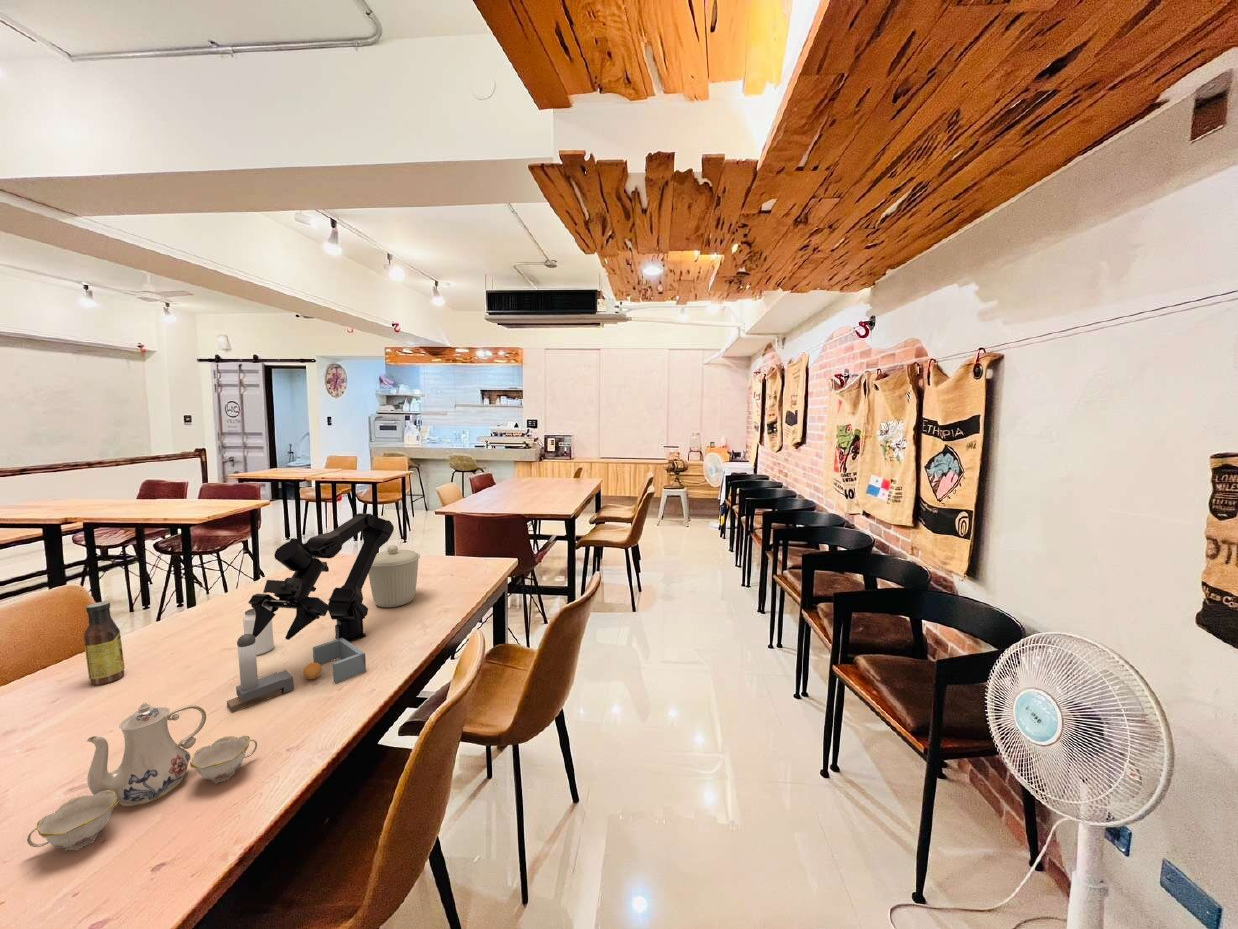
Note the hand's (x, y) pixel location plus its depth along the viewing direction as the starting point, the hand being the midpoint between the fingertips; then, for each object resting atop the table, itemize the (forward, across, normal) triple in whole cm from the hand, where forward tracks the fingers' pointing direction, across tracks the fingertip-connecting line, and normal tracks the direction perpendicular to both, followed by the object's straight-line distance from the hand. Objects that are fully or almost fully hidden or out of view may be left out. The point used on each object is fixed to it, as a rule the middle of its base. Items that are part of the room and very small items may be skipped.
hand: (270, 637), depth 117 cm
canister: (-30, -4, +48) cm, 57 cm away
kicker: (+11, +2, +6) cm, 13 cm away
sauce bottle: (+12, -45, +7) cm, 47 cm away
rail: (+13, 0, +5) cm, 14 cm away
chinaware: (+33, +9, -14) cm, 37 cm away
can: (-2, -20, +20) cm, 28 cm away
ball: (+4, +6, +11) cm, 13 cm away
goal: (+2, +10, +16) cm, 19 cm away
